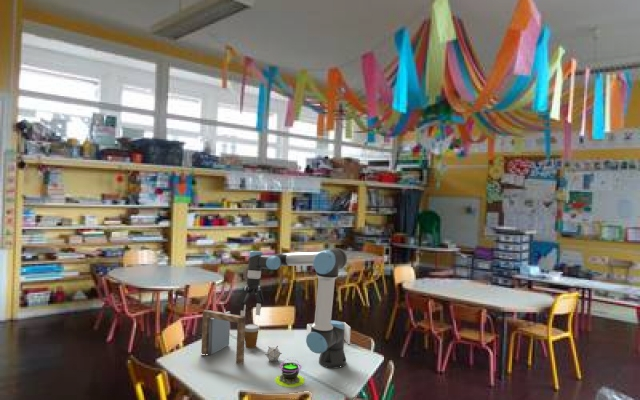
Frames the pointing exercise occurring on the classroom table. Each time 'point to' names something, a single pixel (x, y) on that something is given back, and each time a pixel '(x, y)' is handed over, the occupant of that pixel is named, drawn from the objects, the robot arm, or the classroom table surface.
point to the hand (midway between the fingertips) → (250, 315)
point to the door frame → (227, 317)
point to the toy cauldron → (290, 375)
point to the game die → (273, 354)
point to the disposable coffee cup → (251, 335)
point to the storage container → (346, 332)
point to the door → (218, 334)
